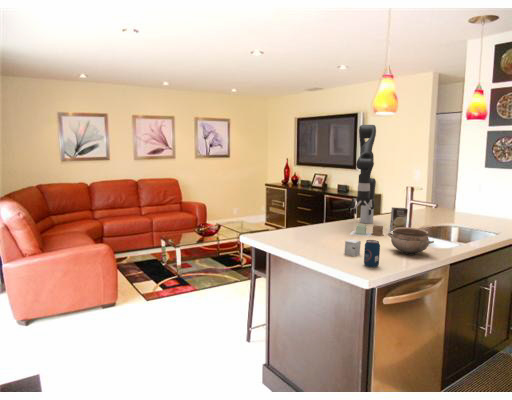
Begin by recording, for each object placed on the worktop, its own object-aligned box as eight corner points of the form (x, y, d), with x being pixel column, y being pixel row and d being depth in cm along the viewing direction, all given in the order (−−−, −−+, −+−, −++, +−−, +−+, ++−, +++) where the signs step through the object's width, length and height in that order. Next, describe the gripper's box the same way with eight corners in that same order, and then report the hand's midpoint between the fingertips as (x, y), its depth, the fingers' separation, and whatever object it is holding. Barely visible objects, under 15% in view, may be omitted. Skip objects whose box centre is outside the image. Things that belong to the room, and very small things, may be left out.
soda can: (360, 264, 189) (362, 240, 188) (371, 262, 192) (373, 239, 190) (370, 268, 183) (371, 243, 181) (381, 266, 186) (383, 242, 184)
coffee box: (391, 232, 260) (393, 208, 258) (389, 230, 267) (391, 207, 265) (406, 233, 260) (407, 209, 257) (403, 231, 266) (405, 207, 264)
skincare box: (344, 254, 207) (344, 240, 206) (349, 252, 211) (350, 238, 210) (354, 256, 203) (355, 242, 202) (360, 254, 207) (360, 240, 206)
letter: (352, 231, 263) (352, 230, 263) (372, 233, 257) (372, 232, 257) (349, 234, 252) (349, 234, 252) (369, 237, 247) (369, 236, 246)
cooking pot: (378, 251, 214) (380, 229, 212) (395, 245, 227) (396, 224, 225) (424, 261, 196) (426, 237, 194) (439, 254, 209) (441, 232, 207)
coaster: (371, 233, 258) (371, 232, 258) (384, 234, 254) (384, 234, 254) (370, 235, 250) (370, 235, 250) (383, 237, 247) (383, 236, 247)
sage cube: (357, 232, 258) (357, 224, 257) (365, 233, 256) (366, 224, 255) (356, 234, 253) (356, 225, 252) (364, 234, 251) (365, 226, 250)
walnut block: (373, 233, 256) (374, 225, 255) (382, 234, 254) (382, 226, 253) (372, 235, 251) (372, 226, 250) (381, 236, 249) (381, 227, 248)
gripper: (376, 189, 252) (374, 214, 254) (353, 188, 257) (352, 212, 260) (374, 191, 245) (372, 216, 247) (351, 189, 251) (350, 214, 253)
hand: (362, 214), depth 254 cm, fingers open, 8 cm apart
